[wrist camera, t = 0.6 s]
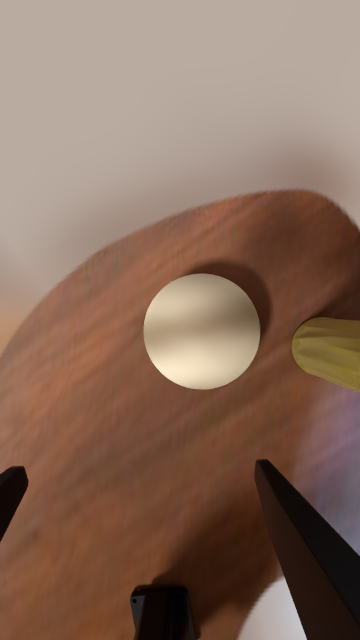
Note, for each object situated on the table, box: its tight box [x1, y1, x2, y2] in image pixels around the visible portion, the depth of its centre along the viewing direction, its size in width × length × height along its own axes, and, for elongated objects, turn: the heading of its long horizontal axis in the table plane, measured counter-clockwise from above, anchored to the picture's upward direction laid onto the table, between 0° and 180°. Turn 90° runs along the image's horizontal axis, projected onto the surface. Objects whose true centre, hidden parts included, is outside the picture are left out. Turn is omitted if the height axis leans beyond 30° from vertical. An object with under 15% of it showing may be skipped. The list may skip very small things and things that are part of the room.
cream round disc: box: [144, 274, 260, 389], centre depth 19 cm, size 11×11×3 cm
